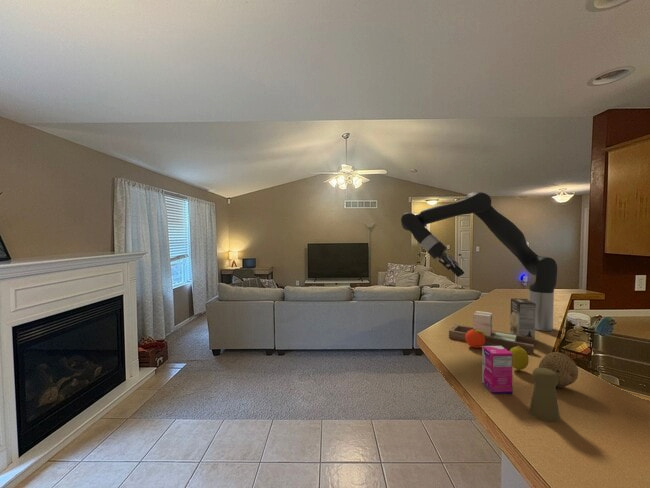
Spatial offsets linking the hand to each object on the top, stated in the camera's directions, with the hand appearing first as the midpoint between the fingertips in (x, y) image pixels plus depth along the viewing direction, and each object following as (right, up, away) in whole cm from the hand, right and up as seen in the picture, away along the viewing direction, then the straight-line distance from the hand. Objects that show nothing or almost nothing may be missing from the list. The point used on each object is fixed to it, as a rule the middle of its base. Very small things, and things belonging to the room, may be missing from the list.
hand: (461, 274), depth 132 cm
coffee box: (+23, -26, -5) cm, 35 cm away
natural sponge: (+7, -28, -45) cm, 54 cm away
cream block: (+6, -23, -7) cm, 25 cm away
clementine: (-1, -27, -15) cm, 31 cm away
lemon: (+3, -28, -34) cm, 44 cm away
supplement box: (-11, -28, -46) cm, 55 cm away
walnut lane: (+8, -26, -8) cm, 29 cm away
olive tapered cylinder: (-6, -28, -58) cm, 65 cm away
